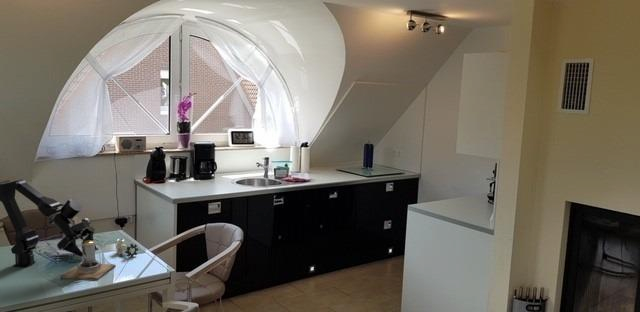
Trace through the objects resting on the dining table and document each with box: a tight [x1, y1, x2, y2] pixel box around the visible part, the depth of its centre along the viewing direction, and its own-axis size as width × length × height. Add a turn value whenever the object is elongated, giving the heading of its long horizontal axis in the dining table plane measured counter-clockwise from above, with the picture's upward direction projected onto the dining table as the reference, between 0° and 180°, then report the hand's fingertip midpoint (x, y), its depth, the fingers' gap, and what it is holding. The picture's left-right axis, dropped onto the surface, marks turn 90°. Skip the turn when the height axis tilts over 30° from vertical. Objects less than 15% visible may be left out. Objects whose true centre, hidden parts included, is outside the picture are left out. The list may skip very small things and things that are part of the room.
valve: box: [115, 238, 139, 258], centre depth 244 cm, size 7×7×12 cm
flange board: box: [60, 260, 117, 281], centre depth 220 cm, size 16×16×4 cm
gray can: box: [80, 240, 96, 267], centre depth 219 cm, size 5×5×12 cm
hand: (89, 252), depth 219 cm, fingers open, 9 cm apart
